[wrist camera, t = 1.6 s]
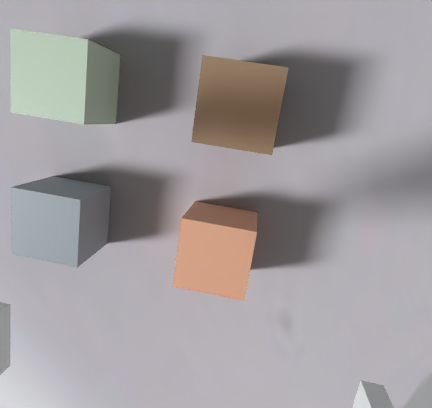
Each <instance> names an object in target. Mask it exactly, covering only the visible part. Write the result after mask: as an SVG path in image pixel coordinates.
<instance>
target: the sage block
mask: <svg viewBox="0 0 432 408" xmlns="http://www.w3.org/2000/svg"><path fill="white" fill-rule="evenodd" d="M120 59H121V55H120V54H117V53H115V52H113V51H111V50H109V49H107V48H105V47H103V46H101V45H99V44H97V43H95V42H93V41H91V40H89V39H83V38H75V37H68V36H61V35H54V34H47V33H39V32H32V31H25V30H18V29H11V28H10V74H11V113H17V114H23V115H29V116H36V117H42V118H48V119H54V120H60V121H67V122H73V123H79V124H116V116H117V102H118V87H119V73H120Z"/></svg>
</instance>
